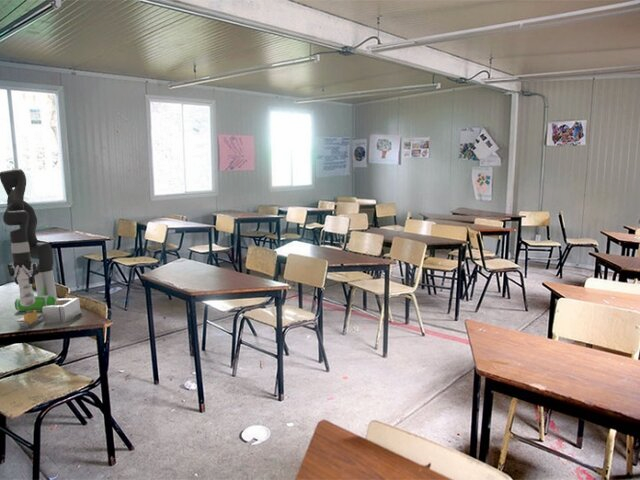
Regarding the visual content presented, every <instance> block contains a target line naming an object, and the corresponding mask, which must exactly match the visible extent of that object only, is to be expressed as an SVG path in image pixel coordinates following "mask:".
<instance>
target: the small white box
mask: <svg viewBox="0 0 640 480" xmlns="http://www.w3.org/2000/svg"><path fill="white" fill-rule="evenodd" d="M41 312H42V313H43V314H42V313H40V314H41V315H39V316H37V317H38V320H36V321H35V322H33V323H31V324H30V325H29V322H26V323H25V322H18V323H19V324H18V325H19V330H29V329H32V328H33V327H35V326H36V325H38V324H40V323H42V322H44V323H43V324H60V323H61V324H64V323H65V324H66V323H68V322H69V321H71V320H72V319H74V318H75V317H77V316H79V315H80V314H81V313H82V311H81V304H80V298H79V297H75V298H74V297H70V298H69V297H68V298H67V297H64V298H63V297H62V298H57V299H56V300H55V305H51V306H44V307H42V310H41ZM70 319H71V320H70ZM67 321H68V322H67Z"/></svg>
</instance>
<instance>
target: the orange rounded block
mask: <svg viewBox="0 0 640 480" xmlns="http://www.w3.org/2000/svg"><path fill="white" fill-rule="evenodd" d="M25 312H26V313H24V314H23V316H22V317H24V321H23V323H26V322H29V325H30V324H31V323H33V322H35V321H36V320H38V317H37V314H38V311H37V310H27V311H25Z"/></svg>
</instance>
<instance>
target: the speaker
mask: <svg viewBox="0 0 640 480" xmlns="http://www.w3.org/2000/svg"><path fill="white" fill-rule="evenodd" d="M34 297H35V303H34V304H33V305H30V306H22V305H21V304H20V297H17V298H16V299H15V301H14V309H15V310H16V311H19V312H26V311H27V310H37V312H38V311H42V307H44V306H51V305H56V302H55V299H54V297H53V296H48V295H47V296H37V295H34Z"/></svg>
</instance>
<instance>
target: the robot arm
mask: <svg viewBox="0 0 640 480" xmlns="http://www.w3.org/2000/svg"><path fill="white" fill-rule="evenodd" d="M0 182H1V184H2V187H3V189H4V191H5V193H6V195H7V198H6V199H7V200H6V202H7V203H6V204H7V205H6V209H5V211H4V213H3V216H2V220H3V223H4V224H5V225H6V226H19V228H18V229H14V230H11V231H10V232H9V238H10V247H11V256H12V261H13V263H9V264H7V269H8V274H9V276H10V277H13V278H14V283H15V285H18V286H19V284H18V281H17V275H18V274H19V272H20V271H19V267H23V269H24V270H25V271H26V273H28V274H29V276H30V277H29V278H30V284H32V285H34V284H35V288H36V296H47V295H48V296H53V297H54V299H55V300H57V299H58V295H57V288H56V282H55V277H54V269H53V267H54V254H53V248H52V245H50V243H48V242H39V240H38V238H37V235H36V229H37V227H38V226H37V225H38V217H37V214H36V212H35V209H34V207H33V206H32V205H31V204H30V203H28V202H27V201H26V200H24V199H25V197H24V196H25V192H26V187H27V177H26V174H25V172H24V170H23V169H21V168H14V169H9V170H1V171H0ZM31 260H38V262H32V261H31ZM14 268H15V269H14Z"/></svg>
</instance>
